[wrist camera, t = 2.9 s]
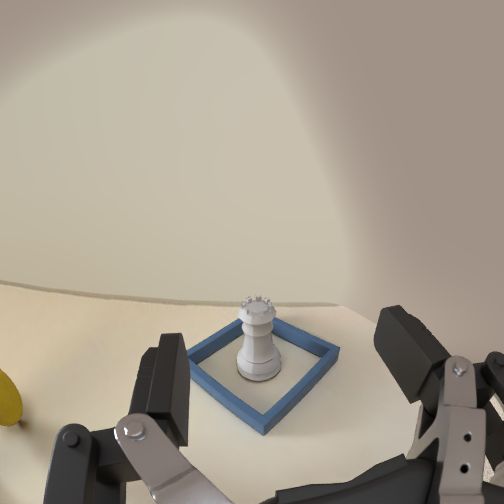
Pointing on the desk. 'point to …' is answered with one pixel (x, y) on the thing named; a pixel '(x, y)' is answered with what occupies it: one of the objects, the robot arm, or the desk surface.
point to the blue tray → (284, 405)
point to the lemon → (9, 401)
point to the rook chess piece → (258, 341)
